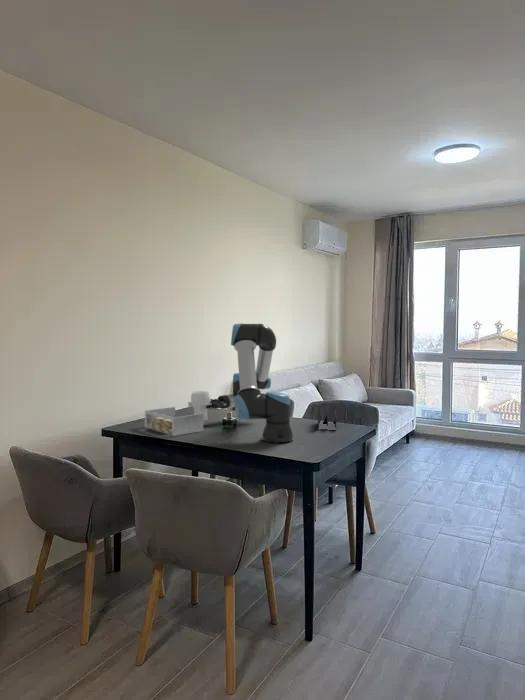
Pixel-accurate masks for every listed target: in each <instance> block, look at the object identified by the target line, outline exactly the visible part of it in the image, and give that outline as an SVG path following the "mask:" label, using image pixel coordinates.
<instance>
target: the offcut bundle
mask: <svg viewBox="0 0 525 700" xmlns="http://www.w3.org/2000/svg"><path fill="white" fill-rule="evenodd" d="M152 428H153V429H157V430H160V431H163V432H166V433H170V434H172V420H169V419H166V418H162V417H154V421H152ZM153 429H152V430H153Z"/></svg>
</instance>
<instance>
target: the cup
mask: <svg viewBox="0 0 525 700" xmlns="http://www.w3.org/2000/svg"><path fill="white" fill-rule="evenodd" d="M210 399H212V397H211V393H210V392H209V391H202V390H199V391H193V392H191V395H190V402H192V406H193V407H192V408H193V411H194V414H193V415H195V414H203V422H204V421H208V420H209V419H208V418H209V417H208V409H205V410H200V405H203V404H210Z"/></svg>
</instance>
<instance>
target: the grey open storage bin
mask: <svg viewBox="0 0 525 700" xmlns="http://www.w3.org/2000/svg"><path fill="white" fill-rule="evenodd" d="M154 417H162V418H166V419H169V420H172V434H170V433H166V432H163V431H160V430H157V429H153V428H152V421H154ZM144 428H146V429H150V430H153V431H156V432H160V433H163V434H165V435H169V436H173V437H176V436H181V435H187V434H193V433H200V432H204V421H203V414H195V415H194V414H190V415H189V414H188V415H183V416H176V407H175V406H172V407H163V408H155V409H149V410H148V409H147V410H144Z"/></svg>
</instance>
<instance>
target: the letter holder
mask: <svg viewBox="0 0 525 700" xmlns="http://www.w3.org/2000/svg"><path fill="white" fill-rule="evenodd" d="M321 404H322V400H319V403H318V417H317V428H318V427H319V423H320V421H321V409H322V408H321V407H322V405H321ZM323 421H324V422H323V424H327V426H328V422H333V423H334V424H335V427H336V428H337V409H335V410H334V421H330V420H329V405H327V406H326V416H325V417H324V419H323Z"/></svg>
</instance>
